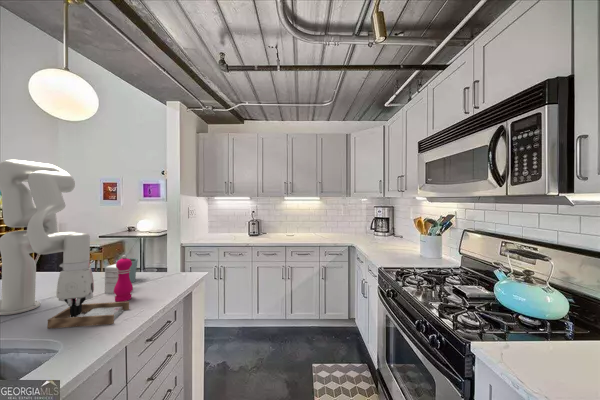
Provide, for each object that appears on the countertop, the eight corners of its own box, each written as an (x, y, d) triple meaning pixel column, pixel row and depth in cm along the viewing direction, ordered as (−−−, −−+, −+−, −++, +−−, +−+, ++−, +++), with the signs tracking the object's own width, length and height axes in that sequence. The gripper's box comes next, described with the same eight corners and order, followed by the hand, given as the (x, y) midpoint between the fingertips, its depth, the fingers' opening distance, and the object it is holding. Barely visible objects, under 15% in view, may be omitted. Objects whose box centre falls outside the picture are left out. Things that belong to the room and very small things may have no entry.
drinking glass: (121, 279, 150) (122, 258, 151) (140, 279, 151) (141, 257, 152) (111, 284, 140) (111, 262, 140) (131, 284, 141) (132, 261, 142)
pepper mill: (123, 303, 115) (124, 256, 116) (109, 301, 117) (110, 256, 117) (136, 297, 122) (137, 253, 123) (123, 296, 124) (124, 253, 124)
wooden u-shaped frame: (47, 328, 91) (47, 319, 91) (73, 312, 105) (73, 304, 105) (112, 324, 96) (112, 315, 96) (129, 308, 109) (129, 301, 109)
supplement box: (115, 288, 134) (115, 263, 135) (129, 288, 134) (129, 263, 134) (103, 293, 127) (104, 266, 127) (118, 293, 127) (119, 267, 127)
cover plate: (80, 324, 96) (80, 317, 96) (94, 314, 104) (94, 308, 104) (111, 322, 98) (111, 315, 98) (122, 312, 106) (122, 306, 106)
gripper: (45, 269, 94) (44, 321, 94) (93, 267, 97) (93, 318, 97) (60, 264, 102) (59, 313, 101) (104, 263, 105) (103, 310, 104)
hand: (75, 315), depth 99 cm, fingers closed
